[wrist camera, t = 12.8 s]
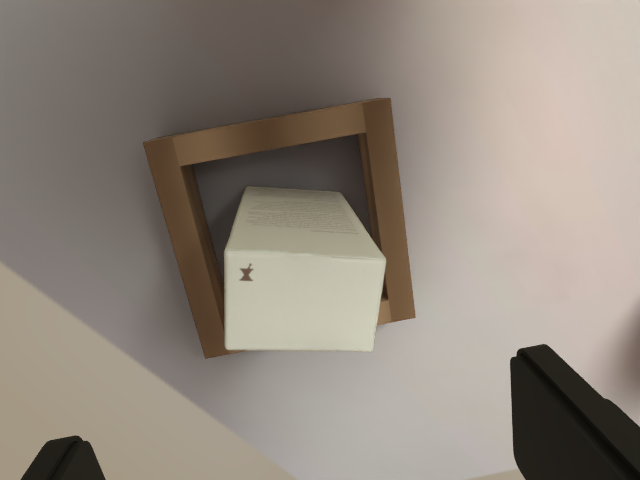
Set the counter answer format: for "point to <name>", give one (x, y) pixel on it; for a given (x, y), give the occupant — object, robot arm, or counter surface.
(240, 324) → the skincare box
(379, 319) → the square wooden frame
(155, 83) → the counter surface
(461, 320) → the counter surface
